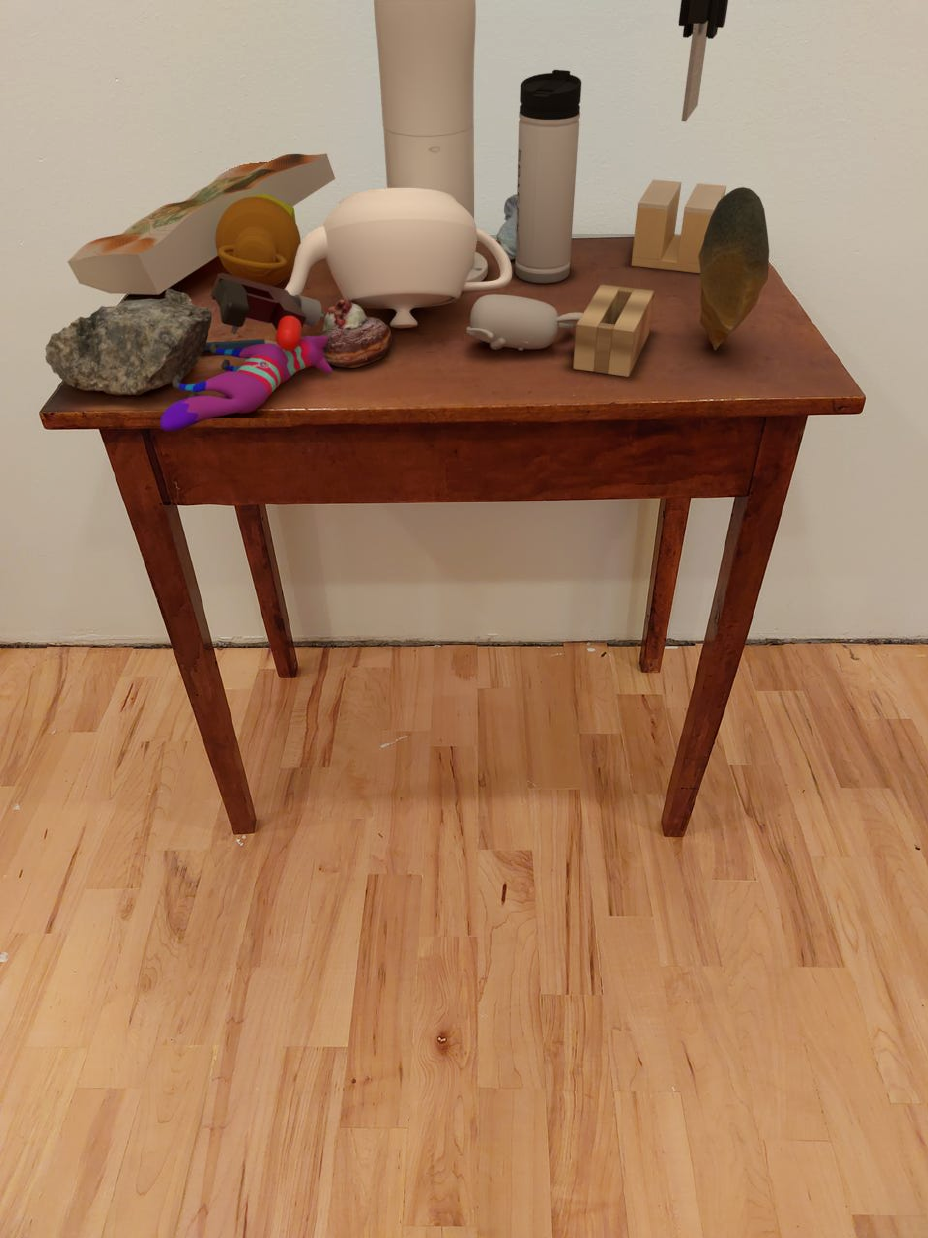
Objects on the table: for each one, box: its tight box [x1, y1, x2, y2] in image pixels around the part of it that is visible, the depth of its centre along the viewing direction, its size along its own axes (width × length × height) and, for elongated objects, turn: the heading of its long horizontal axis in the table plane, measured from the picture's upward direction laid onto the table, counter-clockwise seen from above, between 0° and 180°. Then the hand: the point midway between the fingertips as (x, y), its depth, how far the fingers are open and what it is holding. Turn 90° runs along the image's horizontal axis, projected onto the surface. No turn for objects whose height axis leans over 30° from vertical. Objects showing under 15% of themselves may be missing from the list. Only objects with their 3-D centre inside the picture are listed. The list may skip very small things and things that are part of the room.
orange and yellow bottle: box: [215, 194, 302, 287], centre depth 102 cm, size 9×9×25 cm
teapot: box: [284, 187, 513, 329], centre depth 92 cm, size 25×16×12 cm
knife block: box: [572, 284, 655, 378], centre depth 89 cm, size 10×5×4 cm, turn 161°
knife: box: [681, 0, 711, 122], centre depth 93 cm, size 7×2×11 cm, turn 160°
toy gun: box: [209, 272, 325, 351], centre depth 84 cm, size 10×12×5 cm
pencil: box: [202, 338, 277, 354], centre depth 91 cm, size 1×1×15 cm
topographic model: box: [67, 153, 336, 295], centre depth 108 cm, size 30×14×5 cm, turn 145°
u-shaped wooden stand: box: [631, 179, 727, 274], centre depth 107 cm, size 9×9×7 cm
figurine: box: [496, 193, 517, 261], centre depth 111 cm, size 8×12×7 cm, turn 171°
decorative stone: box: [698, 186, 770, 351], centre depth 85 cm, size 10×6×15 cm, turn 4°
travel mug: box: [514, 69, 582, 285], centre depth 99 cm, size 6×7×20 cm
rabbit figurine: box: [465, 293, 584, 351], centre depth 90 cm, size 6×5×12 cm
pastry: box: [316, 296, 393, 369], centre depth 89 cm, size 8×8×5 cm
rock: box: [44, 288, 213, 397], centre depth 85 cm, size 14×10×10 cm
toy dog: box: [159, 335, 333, 432], centre depth 83 cm, size 4×18×10 cm
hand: (700, 34), depth 92 cm, fingers closed on knife, 1 cm apart
